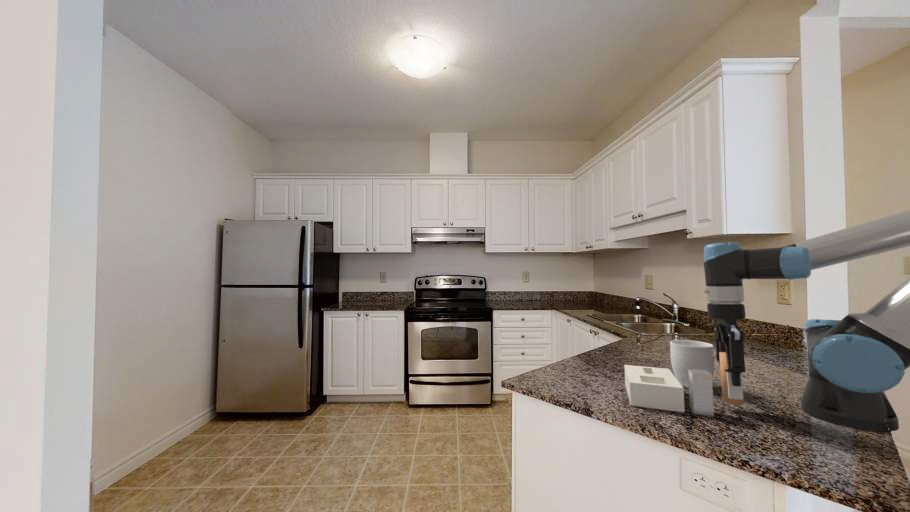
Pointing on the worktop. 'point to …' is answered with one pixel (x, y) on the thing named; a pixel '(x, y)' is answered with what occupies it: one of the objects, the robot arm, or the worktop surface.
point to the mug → (691, 359)
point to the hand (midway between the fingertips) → (732, 395)
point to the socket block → (654, 388)
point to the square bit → (701, 392)
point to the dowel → (724, 381)
